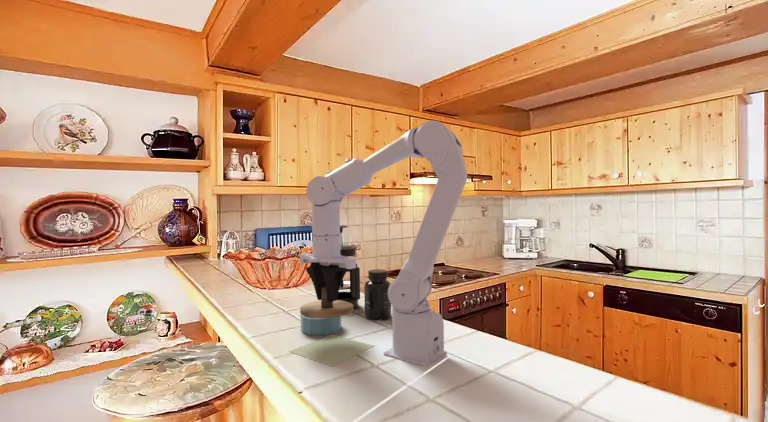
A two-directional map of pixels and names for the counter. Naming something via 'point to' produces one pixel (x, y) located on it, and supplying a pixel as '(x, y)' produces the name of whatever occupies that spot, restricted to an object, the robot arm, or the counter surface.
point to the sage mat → (331, 349)
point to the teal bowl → (320, 325)
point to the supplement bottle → (377, 296)
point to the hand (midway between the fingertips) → (327, 300)
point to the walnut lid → (326, 307)
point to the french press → (354, 276)
